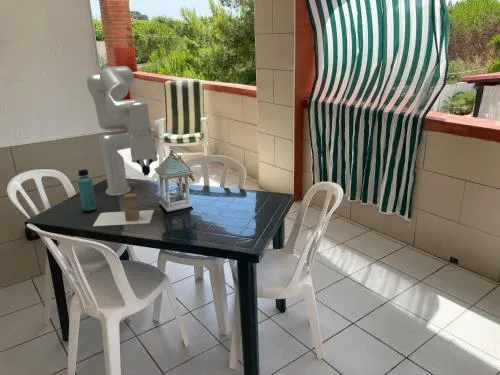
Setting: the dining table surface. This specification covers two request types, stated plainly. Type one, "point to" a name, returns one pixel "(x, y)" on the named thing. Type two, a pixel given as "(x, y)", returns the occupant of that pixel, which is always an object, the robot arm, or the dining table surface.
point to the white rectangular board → (122, 218)
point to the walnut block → (131, 207)
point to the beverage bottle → (86, 191)
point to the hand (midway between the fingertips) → (146, 174)
